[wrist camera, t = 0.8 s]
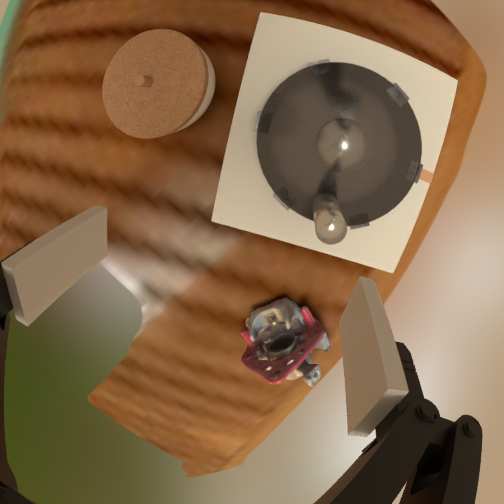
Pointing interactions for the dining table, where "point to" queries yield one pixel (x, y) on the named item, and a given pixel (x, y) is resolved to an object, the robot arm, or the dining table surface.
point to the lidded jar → (157, 84)
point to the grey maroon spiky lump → (283, 342)
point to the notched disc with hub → (338, 146)
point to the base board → (254, 99)
